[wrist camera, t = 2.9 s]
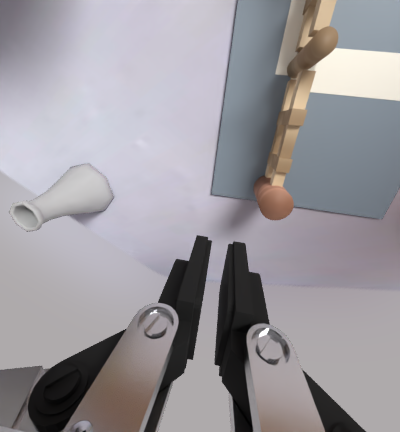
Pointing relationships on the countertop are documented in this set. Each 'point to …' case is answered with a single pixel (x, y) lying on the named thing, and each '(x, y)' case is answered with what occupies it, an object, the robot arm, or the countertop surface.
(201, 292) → the robot arm
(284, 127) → the fence panel
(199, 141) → the countertop surface
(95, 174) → the flask
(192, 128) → the countertop surface
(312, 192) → the card
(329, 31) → the fence fixed section
